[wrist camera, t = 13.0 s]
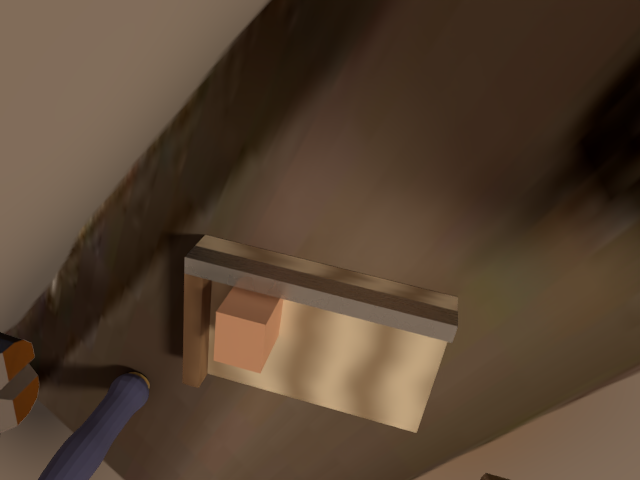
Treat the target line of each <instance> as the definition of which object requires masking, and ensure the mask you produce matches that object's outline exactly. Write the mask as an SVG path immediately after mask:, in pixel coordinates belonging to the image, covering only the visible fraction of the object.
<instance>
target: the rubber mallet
mask: <svg viewBox="0 0 640 480" xmlns="http://www.w3.org/2000/svg"><path fill="white" fill-rule="evenodd" d="M149 388H150V384H149V382H148V380H147V378H146V377H144V376H143V375H142V374H140V373H137V372H129V373H127V374H123V375H120V376H119V377H118V378H116V379H115V380H114V381H113V383H112V384H111V386H110V388H109V390H108V393H107V394H106V396H105V398H104V399H103V400H102V402H101V403H100V404H99V405H98V407H97V408H96V409H95V410H94V411H93V413H92V414H91V415H90V416H89V418H88V419H87V420H86V421H85V422H84V423H83V425H82V426H81V427H80V428H78V429H77V430H76V431H75V432H74V433H73V434H72V435H71V436H70V437H69V438H68V439H67V440H66V441H65V443H64V444H63V445H62V446H61V447H60V449H59V450H58V451H57V453H56V454H55V455H54V457H53V458H52V459H51V461H50V462H49V464H48V465H47V467H46V468H45V470H44V471H43V472H42V474H41V475H40V477H39V479H38V480H89V478H90V477H91V476H92V475H93V473H94V472H95V471H96V469H97V468H98V467H99V465H100V464H101V462H102V461H103V459H104V457H105V455H106V453H107V451H108V450H109V448H110V446H111V444H112V442H113V441H114V439H115V438H116V437H117V435H118V434H119V432H120V431H121V430H122V428H123V427H124V426H125V424H126V423H127V422H128V420H129V419H130V417H131V416H132V415H133V414H134V413H135V412H136V411H137V410H139V409H140V408H141V407H142V406H143V405H144V404H145V403H146V401H147V399H148V396H149Z"/></svg>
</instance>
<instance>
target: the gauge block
mask: <svg viewBox="0 0 640 480" xmlns="http://www.w3.org/2000/svg"><path fill="white" fill-rule="evenodd" d="M282 307H283V299H281V298H277V297H273V296H269V295H266V294H262V293H258V292H254V291H250V290H246V289H242V288H239V287H235V286H234V287H233V288H232V290H231V291H230V292H229V294H228V295H227V297H226V298H225V300H224V301H223V303H222V304H221V305H220V307H219V308H218V310H217V311H216V324H215V343H214V361H217V362H221V363H224V364H228V365H231V366H235V367H238V368H242V369H246V370H249V371H253V372H256V373H261V371H262V369H263V367H264V365H265V363H266V361H267V359H268V357H269V355H270V353H271V351H272V348H273V346H274V344H275V342H276V340H277V338H278V336H279V330H280V322H281V315H282Z"/></svg>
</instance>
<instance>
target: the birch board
mask: <svg viewBox="0 0 640 480" xmlns="http://www.w3.org/2000/svg"><path fill="white" fill-rule="evenodd" d="M196 246H200V247H204V248H208V249H212V250H216V251H220V252H224V253H228V254H232V255H236V256H240V257H244V258H247V259H251V260H255V261H259V262H263V263H267V264H271V265H275V266H279V267H283V268H287V269H291V270H295V271H299V272H303V273H307V274H311V275H315V276H319V277H323V278H327V279H331V280H335V281H339V282H343V283H347V284H351V285H355V286H359V287H363V288H367V289H371V290H375V291H379V292H383V293H387V294H391V295H395V296H399V297H403V298H407V299H411V300H415V301H419V302H423V303H427V304H431V305H435V306H439V307H443V308H447V309H451V310H455V311H458V297H455V296H451V295H447V294H443V293H439V292H435V291H431V290H427V289H422V288H418V287H414V286H410V285H406V284H402V283H398V282H394V281H390V280H386V279H382V278H378V277H374V276H370V275H366V274H362V273H358V272H354V271H350V270H346V269H342V268H338V267H334V266H330V265H326V264H321V263H317V262H313V261H309V260H305V259H301V258H297V257H293V256H289V255H285V254H281V253H277V252H273V251H269V250H265V249H261V248H257V247H253V246H249V245H245V244H241V243H237V242H233V241H229V240H225V239H220V238H216V237H212V236H208V235H205V236H204V237H203V238H202V239H201V240H200V241H199V242H198V243H197V244H196ZM233 287H234V286H231V285H227V284H223V283H219V282H215V281H212V280H208V279H204V278H200V277H196V276H192V275H188V274H185V273H184V328H183V383H184V384H187V385H190V386H194V387H197V388H199V386H200V385H201V383H202V381H203V380H204V378H205V377H206V375H207V373H208V374H211V375H215V376H218V377H222V378H225V379H229V380H233V381H236V382H240V383H243V384H247V385H250V386H254V387H257V388H261V389H264V390H268V391H271V392H275V393H278V394H282V395H285V396H289V397H292V398H296V399H299V400H303V401H306V402H310V403H313V404H317V405H320V406H324V407H327V408H331V409H334V410H338V411H341V412H345V413H348V414H352V415H355V416H359V417H362V418H366V419H370V420H373V421H377V422H380V423H384V424H387V425H391V426H394V427H398V428H401V429H405V430H408V431H412V432H415V433H417V430H418V427H419V424H420V421H421V418H422V415H423V412H424V409H425V406H426V403H427V400H428V397H429V395H430V392H431V389H432V386H433V383H434V380H435V377H436V374H437V371H438V368H439V365H440V362H441V359H442V356H443V353H444V350H445V347H446V345H447V341H443V340H439V339H435V338H431V337H427V336H424V335H420V334H416V333H412V332H408V331H404V330H400V329H397V328H393V327H389V326H385V325H381V324H377V323H373V322H370V321H366V320H362V319H358V318H354V317H350V316H347V315H343V314H339V313H335V312H331V311H327V310H323V309H320V308H316V307H312V306H308V305H304V304H300V303H296V302H293V301H289V300H285V299H283V307H282V315H281V322H280V330H279V336H278V338H277V340H276V342H275V344H274V346H273V348H272V351H271V353H270V355H269V357H268V359H267V361H266V363H265V365H264V367H263V369H262V371H261V373H256V372H253V371H249V370H246V369H242V368H238V367H235V366H231V365H228V364H224V363H221V362H217V361H214V343H215V324H216V311H217V310H218V308H219V307H220V305H221V304H222V303H223V301H224V300H225V298H226V297H227V295H228V294H229V292H230V291H231V290H232V288H233Z"/></svg>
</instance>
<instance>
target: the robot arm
mask: <svg viewBox="0 0 640 480" xmlns="http://www.w3.org/2000/svg"><path fill="white" fill-rule="evenodd" d="M34 357H35V355H34V351H33V347H32V343H30V342H28V341H25V340H23V339H20V338H17V337H13V336H10V335H7V334H4V333H1V332H0V433H2V432H4V431H7V430H9V429H11V428H14V427H16V426H18V425H19V424H20V423H21V421H22V420H23V419H24V418H25V417H26V416H27V415H28V414H29V412H30V411H31V409H32V407H33V405H34V403H35V401H36V399H37V397H38V391H39V379H38V375H37V373H36V372H35V371H34V370H33V368H32V367H31V366H30V365H29V363H30V362H31V361H32V360H33V359H34ZM480 480H509V479H505V478H502V477H499V476H494V475H491V474H488V473H485V474H484V475H483V476H482V477H481V479H480Z"/></svg>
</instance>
